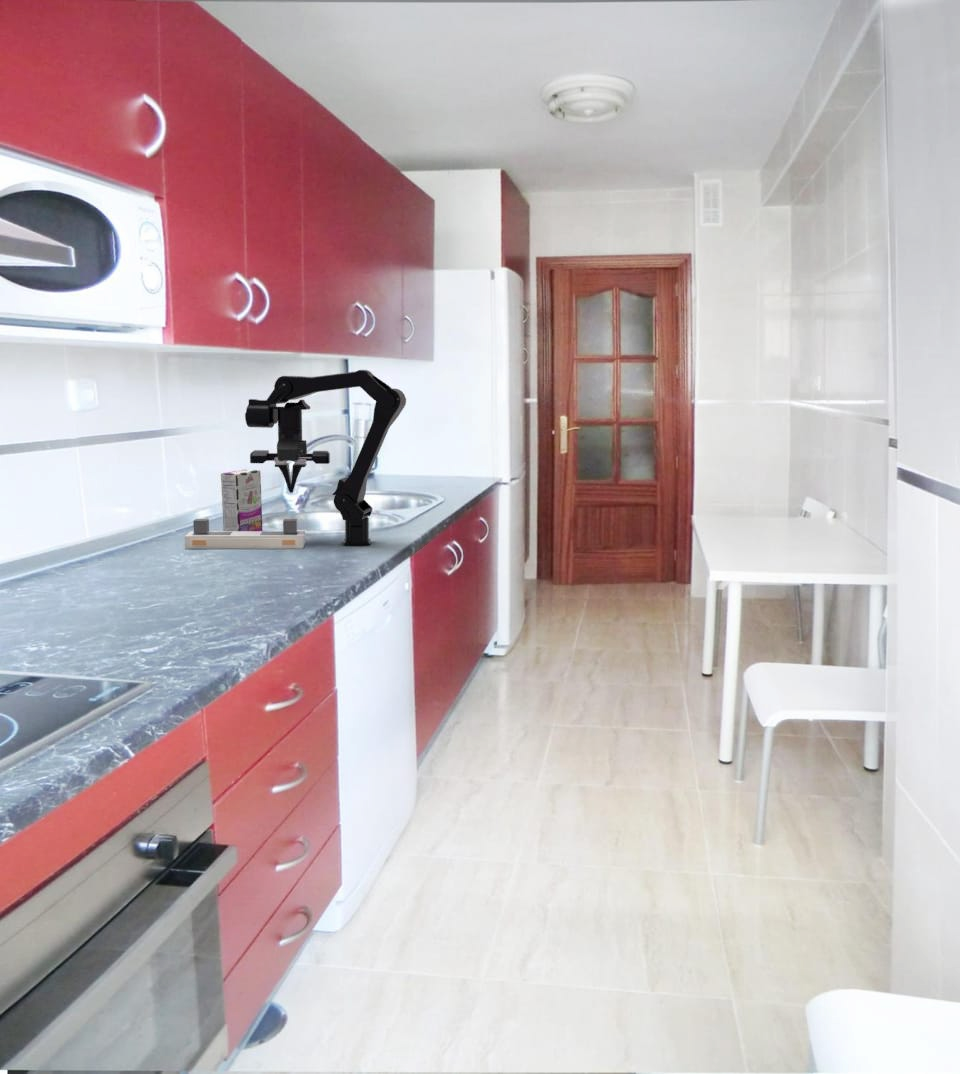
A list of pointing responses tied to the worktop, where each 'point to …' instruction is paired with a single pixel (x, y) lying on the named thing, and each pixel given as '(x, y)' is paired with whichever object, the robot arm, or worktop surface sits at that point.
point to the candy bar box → (242, 500)
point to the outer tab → (201, 525)
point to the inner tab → (290, 526)
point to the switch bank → (245, 540)
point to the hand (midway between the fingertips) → (291, 492)
